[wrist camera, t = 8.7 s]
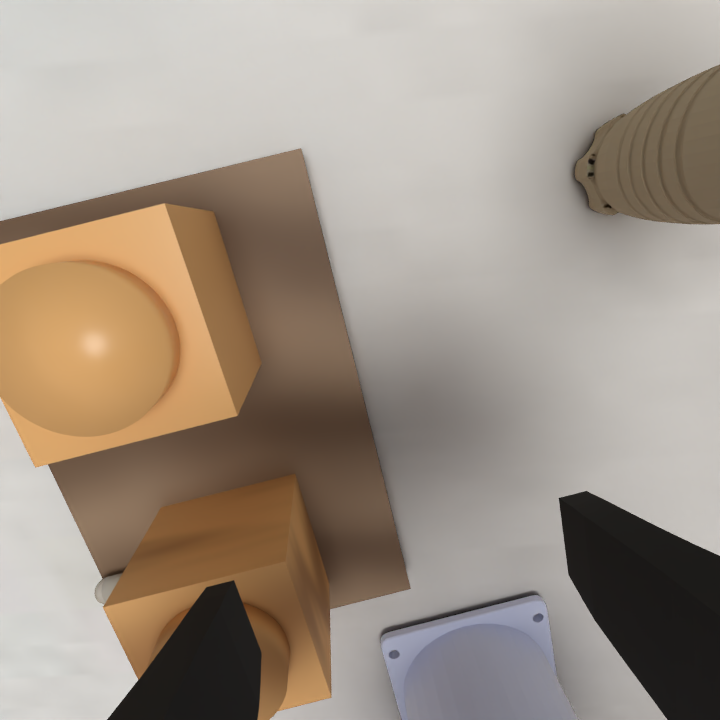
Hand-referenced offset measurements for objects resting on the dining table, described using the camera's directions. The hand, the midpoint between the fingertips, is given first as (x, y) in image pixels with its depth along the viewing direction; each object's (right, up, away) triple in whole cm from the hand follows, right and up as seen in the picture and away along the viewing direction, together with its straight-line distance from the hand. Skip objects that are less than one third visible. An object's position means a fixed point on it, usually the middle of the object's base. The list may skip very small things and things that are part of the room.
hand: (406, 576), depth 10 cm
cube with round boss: (-8, +6, +6) cm, 12 cm away
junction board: (-7, +2, +9) cm, 11 cm away
